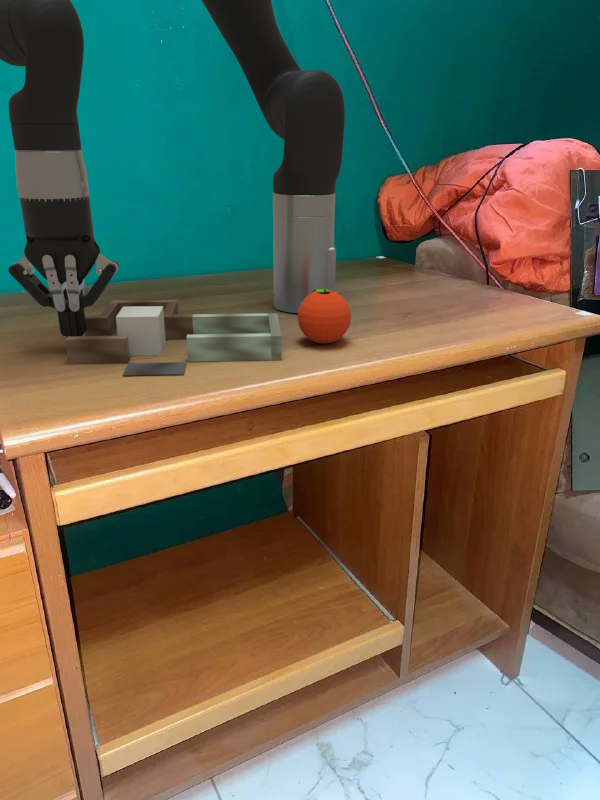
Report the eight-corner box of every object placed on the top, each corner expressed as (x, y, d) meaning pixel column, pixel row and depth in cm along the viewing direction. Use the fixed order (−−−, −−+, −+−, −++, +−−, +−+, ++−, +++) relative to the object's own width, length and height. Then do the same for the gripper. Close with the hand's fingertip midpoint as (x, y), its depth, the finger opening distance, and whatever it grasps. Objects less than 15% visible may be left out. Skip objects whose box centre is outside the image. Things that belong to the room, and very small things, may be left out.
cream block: (165, 343, 82) (163, 306, 80) (161, 356, 78) (158, 316, 76) (126, 344, 82) (123, 306, 80) (119, 356, 77) (115, 317, 75)
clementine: (286, 335, 86) (286, 283, 83) (333, 330, 88) (334, 280, 85) (309, 353, 79) (310, 297, 76) (359, 347, 81) (361, 292, 78)
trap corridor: (274, 318, 93) (274, 298, 92) (283, 373, 72) (283, 348, 71) (101, 321, 91) (98, 300, 90) (57, 377, 70) (53, 352, 69)
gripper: (119, 190, 76) (133, 329, 83) (6, 190, 75) (29, 331, 82) (107, 196, 69) (123, 347, 76) (-18, 196, 68) (9, 349, 75)
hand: (74, 338), depth 79 cm, fingers closed
